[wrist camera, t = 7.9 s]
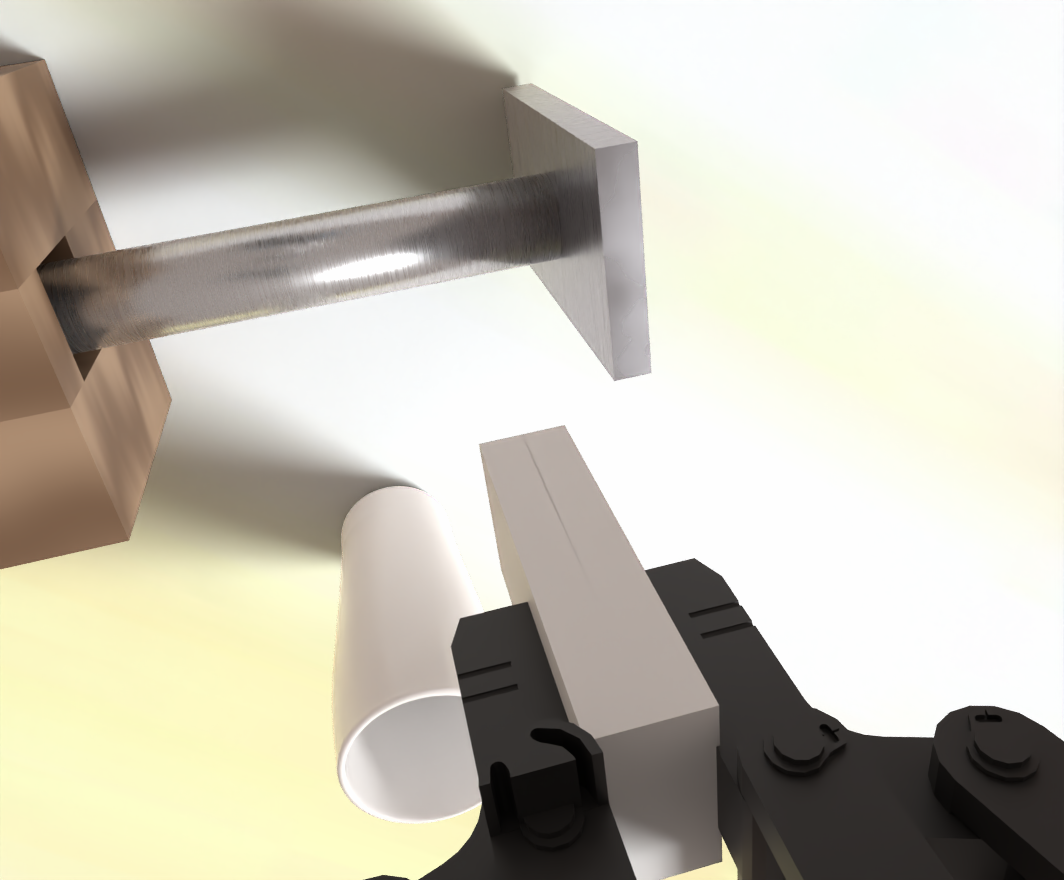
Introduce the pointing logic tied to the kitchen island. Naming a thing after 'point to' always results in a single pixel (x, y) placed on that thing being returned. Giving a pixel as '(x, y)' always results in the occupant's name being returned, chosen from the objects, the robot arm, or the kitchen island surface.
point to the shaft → (402, 248)
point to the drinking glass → (401, 661)
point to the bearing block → (61, 350)
